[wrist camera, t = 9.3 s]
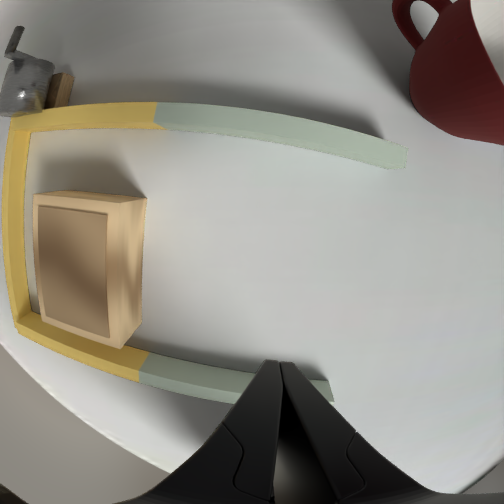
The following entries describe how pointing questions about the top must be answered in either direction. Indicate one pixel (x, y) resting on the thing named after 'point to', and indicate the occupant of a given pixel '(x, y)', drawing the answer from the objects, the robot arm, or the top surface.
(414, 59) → the mug
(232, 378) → the bay
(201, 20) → the top surface
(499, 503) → the robot arm
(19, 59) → the winch
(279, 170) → the top surface
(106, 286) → the box
